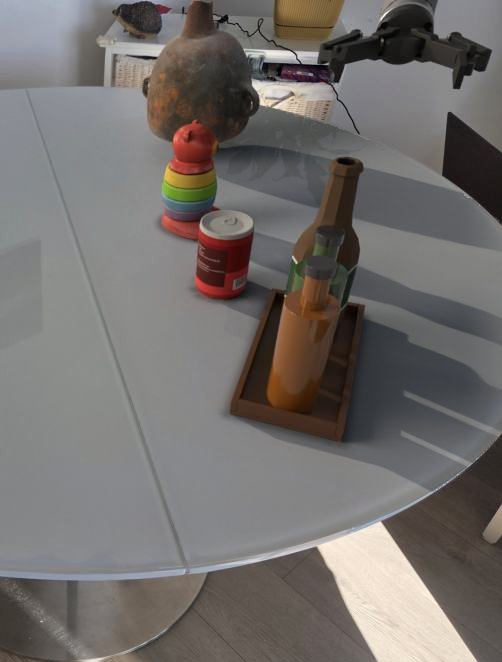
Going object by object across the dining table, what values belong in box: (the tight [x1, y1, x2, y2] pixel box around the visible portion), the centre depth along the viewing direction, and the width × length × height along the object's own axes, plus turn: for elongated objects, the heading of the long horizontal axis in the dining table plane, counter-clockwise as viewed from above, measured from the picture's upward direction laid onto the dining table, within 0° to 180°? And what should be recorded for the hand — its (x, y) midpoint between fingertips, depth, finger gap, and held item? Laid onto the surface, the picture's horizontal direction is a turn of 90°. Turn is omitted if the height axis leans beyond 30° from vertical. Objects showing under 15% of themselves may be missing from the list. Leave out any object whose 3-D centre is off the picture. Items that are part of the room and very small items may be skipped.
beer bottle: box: [281, 156, 364, 333], centre depth 81 cm, size 8×8×24 cm
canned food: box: [194, 209, 255, 300], centre depth 95 cm, size 8×8×11 cm
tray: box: [228, 287, 366, 443], centre depth 83 cm, size 13×26×2 cm, turn 154°
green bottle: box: [290, 225, 348, 305], centre depth 77 cm, size 6×6×19 cm
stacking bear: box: [161, 120, 222, 241], centre depth 109 cm, size 11×10×18 cm
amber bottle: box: [266, 255, 341, 414], centre depth 72 cm, size 6×6×19 cm
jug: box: [141, 0, 261, 144], centre depth 131 cm, size 24×21×30 cm
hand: (397, 74), depth 79 cm, fingers open, 13 cm apart
